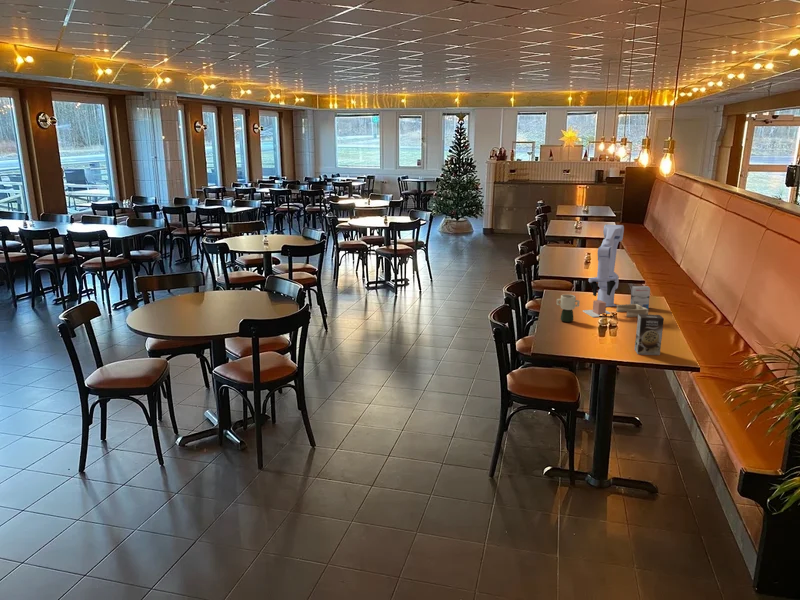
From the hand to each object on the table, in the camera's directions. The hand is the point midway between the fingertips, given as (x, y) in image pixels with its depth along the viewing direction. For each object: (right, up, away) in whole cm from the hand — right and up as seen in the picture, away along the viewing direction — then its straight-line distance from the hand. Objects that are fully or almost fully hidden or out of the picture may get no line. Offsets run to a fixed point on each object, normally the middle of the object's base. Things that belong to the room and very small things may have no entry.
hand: (601, 295), depth 311 cm
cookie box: (0, -25, -58) cm, 63 cm away
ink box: (+25, -7, +13) cm, 29 cm away
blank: (-1, -9, +2) cm, 9 cm away
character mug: (-21, -13, -11) cm, 27 cm away
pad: (-1, -10, +2) cm, 10 cm away
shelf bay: (+16, -10, +2) cm, 19 cm away
